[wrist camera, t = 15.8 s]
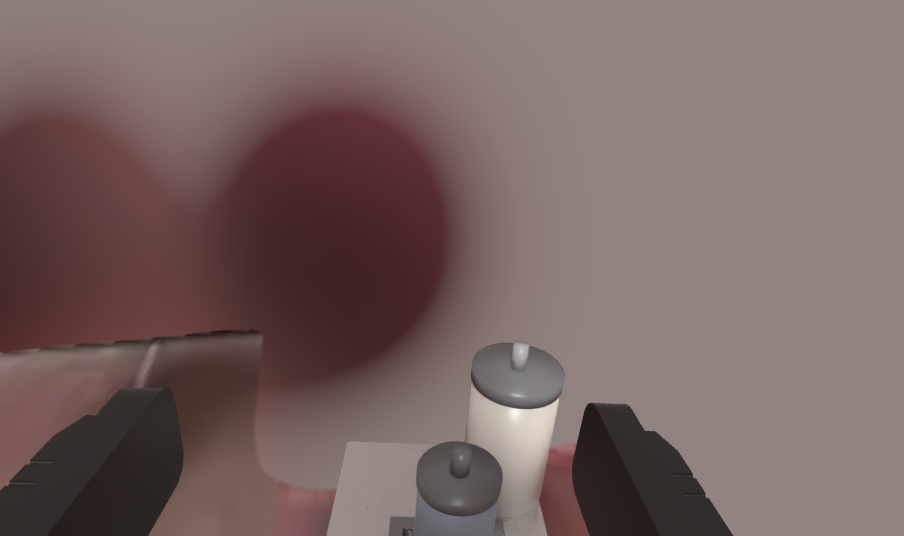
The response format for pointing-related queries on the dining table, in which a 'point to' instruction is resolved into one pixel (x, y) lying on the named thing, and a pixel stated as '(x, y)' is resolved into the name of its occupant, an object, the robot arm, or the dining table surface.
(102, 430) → the robot arm
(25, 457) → the dining table surface
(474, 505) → the grey lidded canister
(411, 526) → the mounting plate
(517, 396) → the white lidded canister
